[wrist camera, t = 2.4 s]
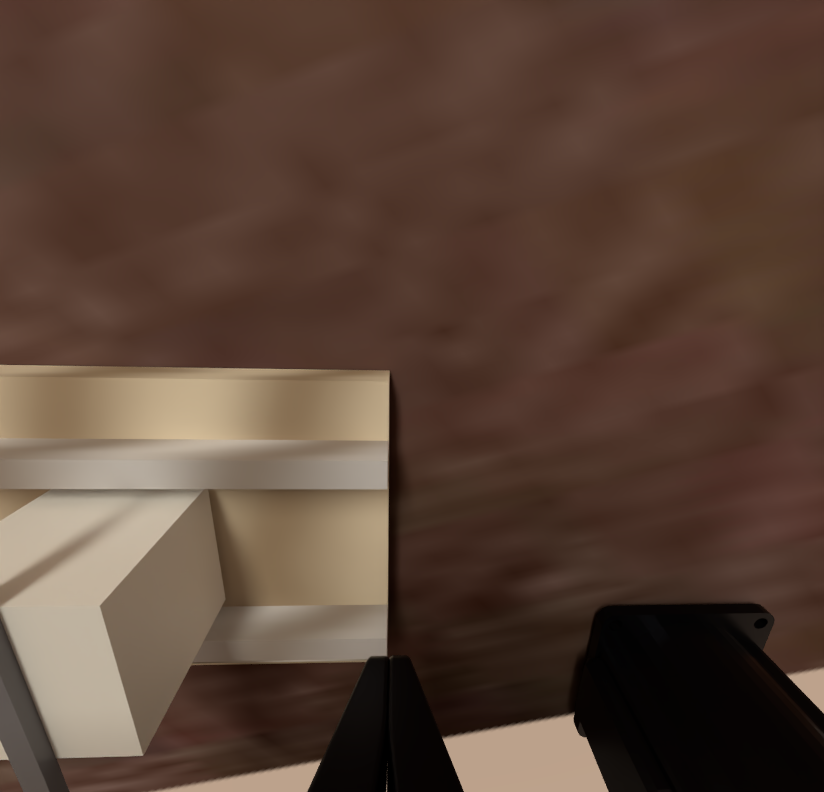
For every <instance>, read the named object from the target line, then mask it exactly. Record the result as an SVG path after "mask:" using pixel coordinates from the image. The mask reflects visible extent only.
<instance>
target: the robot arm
mask: <svg viewBox="0 0 824 792" xmlns="http://www.w3.org/2000/svg"><path fill="white" fill-rule="evenodd" d="M773 624H774V617H773V616H772V615H771V614H770V613H769V612H768V611H767V610H766V609H765V608H764V607H762V606H761V605H759V604H713V605H635V606H608V607H605V608H603V609H602V610H600V611H599V612H598V614H597V617H596V621H595V625H594V630H593V634H592V639H591V643H590V648H589V652H588V657H587V661H586V663H585V665H584V669H583V674H582V678H581V683H580V687H579V692H578V696H577V701H576V705H575V715H574V723H575V726H576V729H577V731H578V733H579V734H580V735H581V736H582V737H587V739H588V742H589V745H590V747H591V749H592V752H593V754H594V757H595V759H596V762H597V764H598V766H599V769H600V771H601V774H602V776H603V779H604V781H605V783H606V786H607V789H608V791H609V792H824V714H823V713H822V711H820V709H819V708H818V707H817V706H816V705H815V704H814V703H813V702H812V701H811V700H810V699H809V698H808V697H807V696H806V695H805V694H804V693H803V692H802V691H801V690H800V689H799V688H798V687H797V686H796V685H795V684H794V683H793V682H792V681H791V680H790V678H789V677H788V676H787V675H786V674H785V673H784V672H783V671H782V670H781V669H780V668H779V667H778V666H777V665H776V664H775V663H774V662H773V661H772V660H771V659H770V658H769V657H768V656H767V655H766V654H765V653H764V652H763V648H764V646H765V643H766V641H767V639H768V636H769V634H770V631H771V629H772V626H773ZM386 785H387V792H464V791H463V789H462V786H461V784H460V781H459V779H458V776H457V774H456V771H455V769H454V766H453V764H452V761H451V759H450V756H449V754H448V751H447V749H446V746H445V744H444V741H443V739H442V736H441V734H440V731H439V729H438V726H437V724H436V721H435V719H434V716H433V714H432V711H431V709H430V706H429V704H428V701H427V699H426V696H425V694H424V691H423V689H422V686H421V684H420V681H419V679H418V676H417V674H416V672H415V669H414V667H413V664H412V662H411V659H410V658H409V657H408V656H407V655H396V656H391V657H390V658H388V657H387V656H370V657H369V658H368V660H367V661H366V664H365V666H364V668H363V670H362V672H361V675H360V677H359V679H358V681H357V683H356V686H355V688H354V690H353V692H352V694H351V697H350V699H349V701H348V703H347V706H346V708H345V710H344V712H343V714H342V717H341V719H340V721H339V723H338V725H337V728H336V730H335V732H334V734H333V736H332V739H331V741H330V743H329V745H328V747H327V750H326V752H325V754H324V756H323V759H322V761H321V763H320V765H319V767H318V770H317V772H316V774H315V776H314V778H313V781H312V783H311V785H310V787H309V789H308V792H386Z"/></svg>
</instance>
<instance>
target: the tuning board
mask: <svg viewBox="0 0 824 792" xmlns="http://www.w3.org/2000/svg"><path fill="white" fill-rule="evenodd" d="M389 412H390V371H381V370H312V369H243V368H174V367H106V366H37V365H0V521H1V520H2V519H4V518H6V517H7V516H9V515H10V514H12V513H14V512H15V511H17V510H18V509H20V508H22V507H23V506H25V505H27V504H28V503H30V502H31V501H33V500H35V499H36V498H38V497H39V496H41V495H43V494H44V493H46V492H47V491H49V490H51V489H208V492H209V498H210V505H211V511H212V517H213V523H214V530H215V536H216V542H217V548H218V555H219V561H220V567H221V573H222V580H223V586H224V592H225V598H226V600H225V601H224V603H223V605H222V607H221V609H220V611H219V613H218V615H217V617H216V619H215V620H214V622H213V624H212V626H211V628H210V630H209V632H208V634H207V636H206V638H205V639H204V641H203V643H202V645H201V647H200V649H199V651H198V653H197V655H196V656H195V658H194V660H193V662H192V664H191V665H226V664H279V663H331V662H366V661H367V660H368V658H369V657H370V656H387V652H388V562H389Z"/></svg>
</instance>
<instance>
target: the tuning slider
mask: <svg viewBox="0 0 824 792" xmlns="http://www.w3.org/2000/svg"><path fill="white" fill-rule="evenodd" d="M225 600H226V598H225V592H224V586H223V580H222V573H221V567H220V561H219V555H218V548H217V542H216V536H215V530H214V523H213V517H212V511H211V505H210V498H209V492H208V489H51V490H49V491H47V492H46V493H44V494H43V495H41V496H39V497H38V498H36V499H35V500H33V501H31V502H30V503H28V504H27V505H25V506H23V507H22V508H20V509H18V510H17V511H15V512H14V513H12V514H10V515H9V516H7V517H6V518H4V519H2V520H1V521H0V760H9V761H10V763H11V765H12V768H13V770H14V772H15V774H16V776H17V778H18V781H19V783H20V785H21V787H22V789H23V792H69V789H68V787H67V784H66V782H65V779H64V777H63V774H62V772H61V769H60V767H59V764H58V762H57V759H56V758H82V757H117V756H143V755H144V753H145V751H146V750H147V748H148V746H149V744H150V742H151V740H152V738H153V736H154V734H155V732H156V731H157V729H158V727H159V725H160V723H161V721H162V719H163V717H164V715H165V713H166V712H167V710H168V708H169V706H170V704H171V702H172V700H173V698H174V696H175V694H176V693H177V691H178V689H179V687H180V685H181V683H182V681H183V679H184V677H185V675H186V674H187V672H188V670H189V668H190V666H191V664H192V662H193V660H194V658H195V656H196V655H197V653H198V651H199V649H200V647H201V645H202V643H203V641H204V639H205V638H206V636H207V634H208V632H209V630H210V628H211V626H212V624H213V622H214V620H215V619H216V617H217V615H218V613H219V611H220V609H221V607H222V605H223V603H224V601H225Z"/></svg>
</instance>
